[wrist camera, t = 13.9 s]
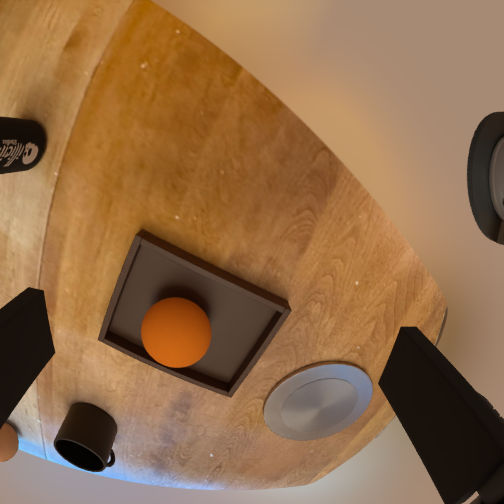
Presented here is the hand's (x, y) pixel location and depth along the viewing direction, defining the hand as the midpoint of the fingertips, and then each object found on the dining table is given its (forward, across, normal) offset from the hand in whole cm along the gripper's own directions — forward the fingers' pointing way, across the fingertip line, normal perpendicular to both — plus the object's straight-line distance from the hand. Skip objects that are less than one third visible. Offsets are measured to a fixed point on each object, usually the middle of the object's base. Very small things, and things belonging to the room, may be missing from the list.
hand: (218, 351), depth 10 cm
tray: (+25, -4, -13) cm, 29 cm away
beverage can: (+25, -27, +7) cm, 38 cm away
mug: (+25, -20, -39) cm, 51 cm away
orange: (+21, -5, -13) cm, 25 cm away
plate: (+26, +17, -28) cm, 42 cm away
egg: (+25, -48, -52) cm, 75 cm away
